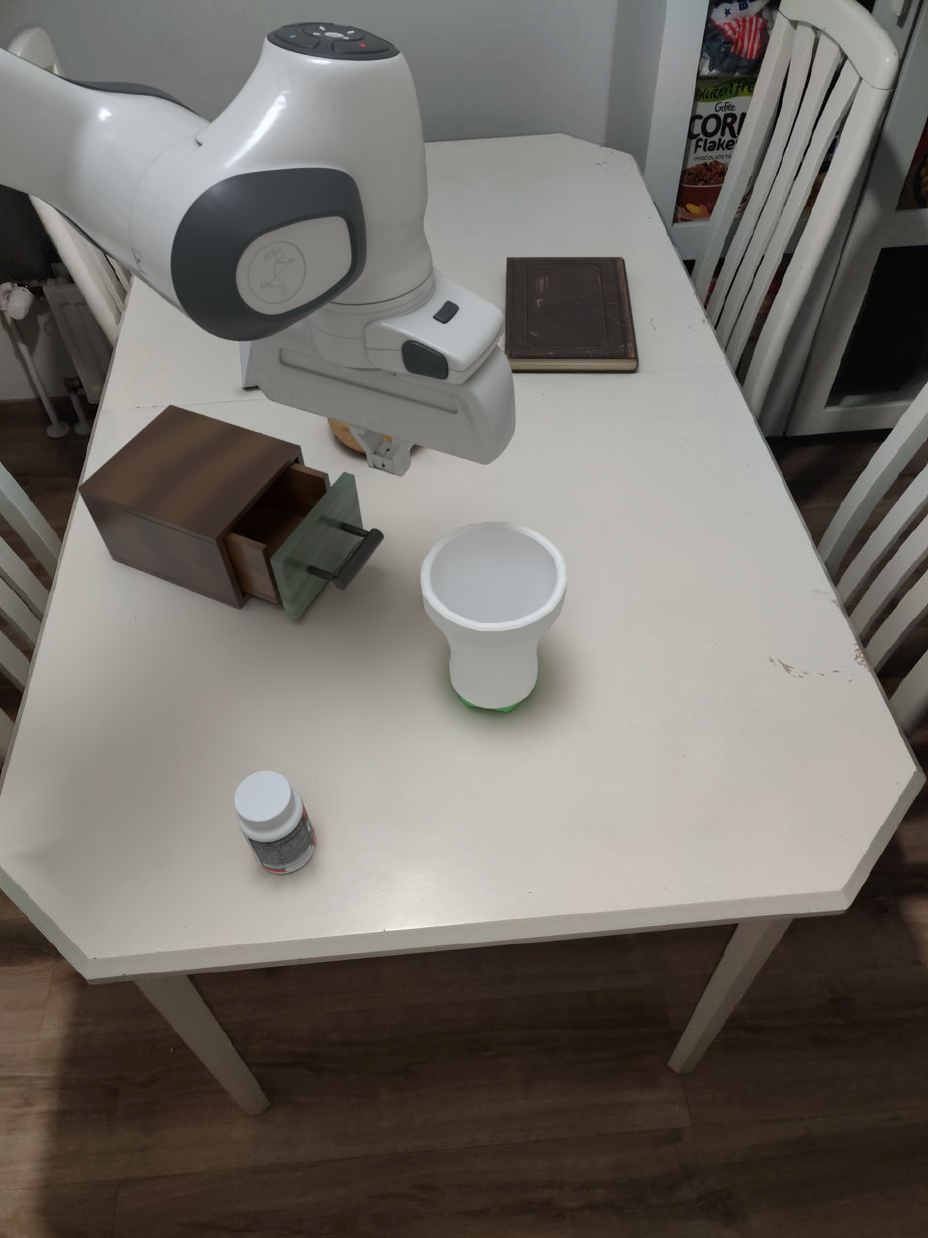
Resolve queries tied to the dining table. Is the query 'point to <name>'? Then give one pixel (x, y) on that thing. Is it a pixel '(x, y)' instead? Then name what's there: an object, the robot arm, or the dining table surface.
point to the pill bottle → (274, 822)
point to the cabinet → (184, 497)
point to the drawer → (300, 538)
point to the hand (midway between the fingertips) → (390, 467)
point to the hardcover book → (569, 316)
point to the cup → (493, 607)
